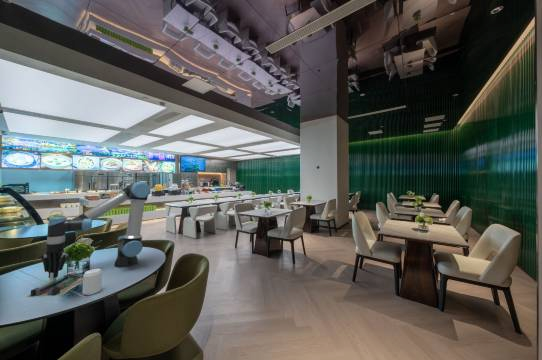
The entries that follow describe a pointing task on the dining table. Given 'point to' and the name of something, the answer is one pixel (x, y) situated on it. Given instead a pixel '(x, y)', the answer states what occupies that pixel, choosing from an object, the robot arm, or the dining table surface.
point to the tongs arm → (49, 285)
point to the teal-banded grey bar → (62, 285)
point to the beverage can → (92, 281)
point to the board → (63, 289)
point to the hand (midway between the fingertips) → (52, 283)
